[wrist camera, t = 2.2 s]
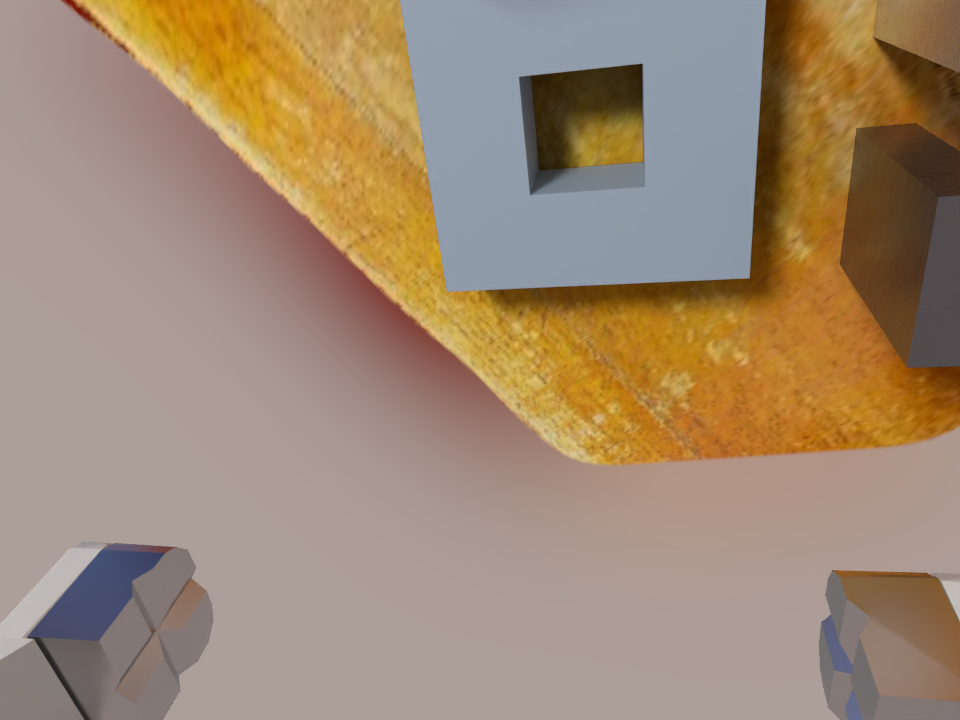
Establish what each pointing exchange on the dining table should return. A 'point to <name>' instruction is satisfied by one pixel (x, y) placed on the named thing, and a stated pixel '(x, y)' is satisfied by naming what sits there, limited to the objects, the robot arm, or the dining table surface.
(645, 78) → the bore block
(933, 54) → the square bit
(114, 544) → the robot arm
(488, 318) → the dining table surface
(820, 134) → the dining table surface
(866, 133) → the dark grey rectangular slab
